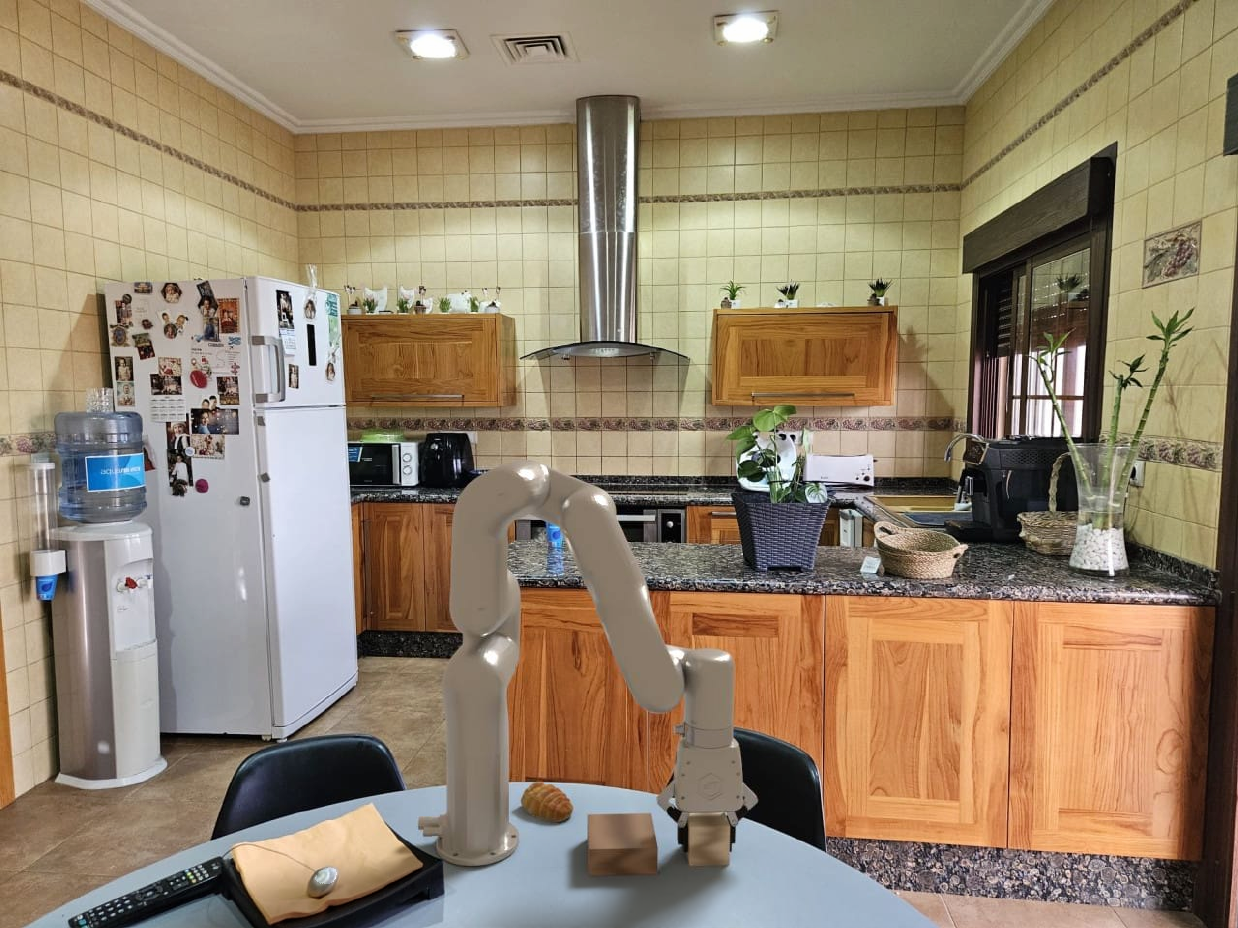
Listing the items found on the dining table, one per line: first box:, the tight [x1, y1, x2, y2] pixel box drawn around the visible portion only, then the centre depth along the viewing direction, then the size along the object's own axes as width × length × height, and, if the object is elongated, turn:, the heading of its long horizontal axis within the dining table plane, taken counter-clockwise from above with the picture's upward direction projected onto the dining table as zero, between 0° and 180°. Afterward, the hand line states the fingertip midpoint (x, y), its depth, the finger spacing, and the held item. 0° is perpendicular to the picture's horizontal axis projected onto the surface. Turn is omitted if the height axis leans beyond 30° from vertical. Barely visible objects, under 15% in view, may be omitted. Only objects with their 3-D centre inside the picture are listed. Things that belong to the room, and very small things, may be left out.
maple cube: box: [685, 812, 731, 867], centre depth 121 cm, size 6×6×6 cm
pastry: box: [520, 781, 574, 823], centre depth 133 cm, size 9×7×4 cm
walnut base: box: [587, 812, 659, 877], centre depth 120 cm, size 10×10×4 cm
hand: (706, 846), depth 121 cm, fingers closed on maple cube, 6 cm apart
